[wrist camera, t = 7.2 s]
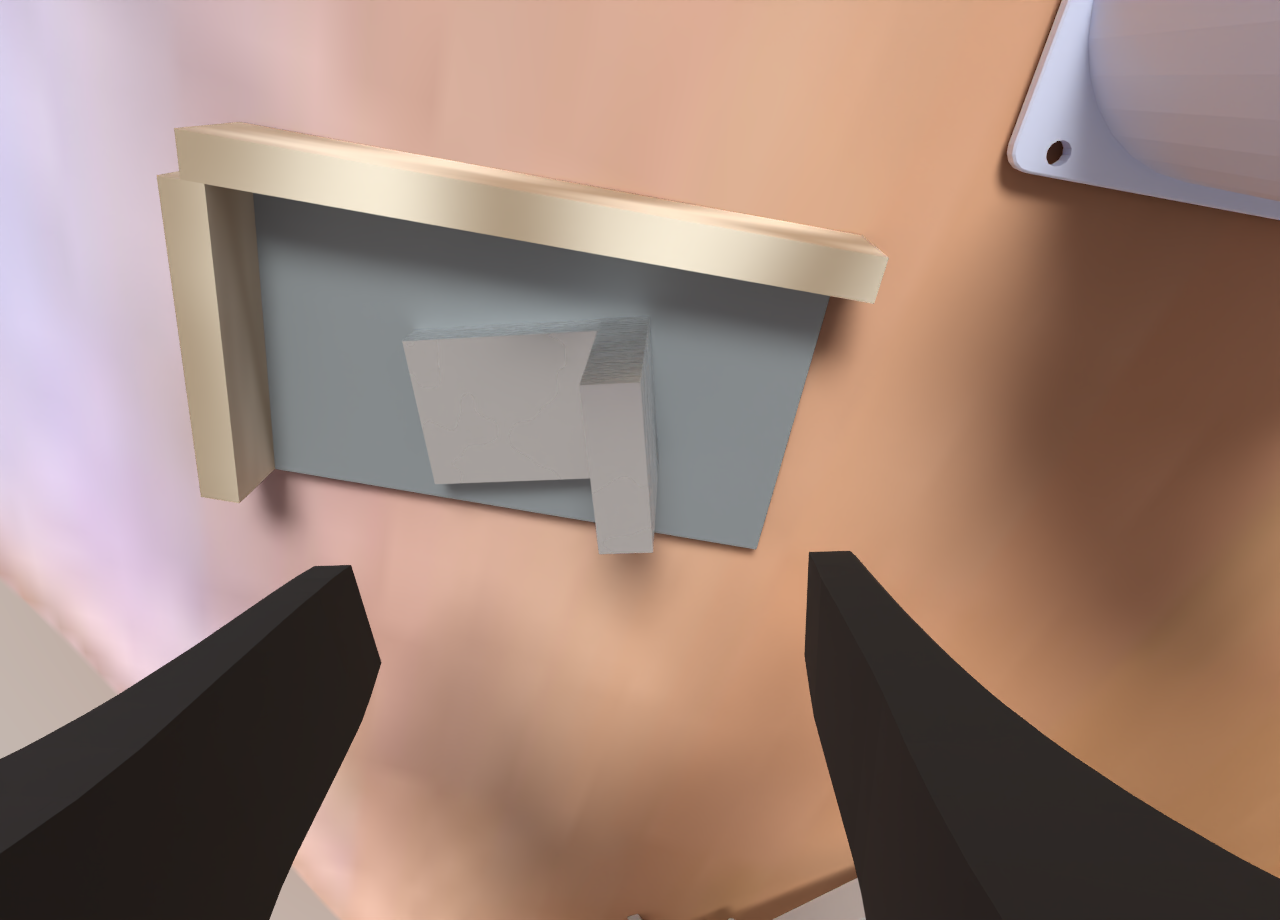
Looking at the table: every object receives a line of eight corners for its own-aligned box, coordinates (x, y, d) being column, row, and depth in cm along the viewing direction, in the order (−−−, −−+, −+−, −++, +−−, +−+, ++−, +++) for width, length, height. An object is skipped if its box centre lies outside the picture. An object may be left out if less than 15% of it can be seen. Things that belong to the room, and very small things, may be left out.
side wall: (264, 170, 18) (204, 183, 15) (285, 458, 21) (239, 503, 19) (222, 163, 18) (156, 175, 15) (251, 453, 21) (200, 496, 19)
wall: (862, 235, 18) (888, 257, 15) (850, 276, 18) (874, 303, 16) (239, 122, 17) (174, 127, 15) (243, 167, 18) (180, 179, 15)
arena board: (830, 272, 18) (835, 278, 17) (754, 538, 22) (756, 549, 21) (264, 170, 18) (251, 173, 17) (285, 458, 21) (275, 468, 21)
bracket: (649, 316, 18) (640, 382, 14) (658, 458, 20) (652, 552, 16) (415, 329, 19) (343, 396, 15) (445, 466, 20) (388, 560, 16)
